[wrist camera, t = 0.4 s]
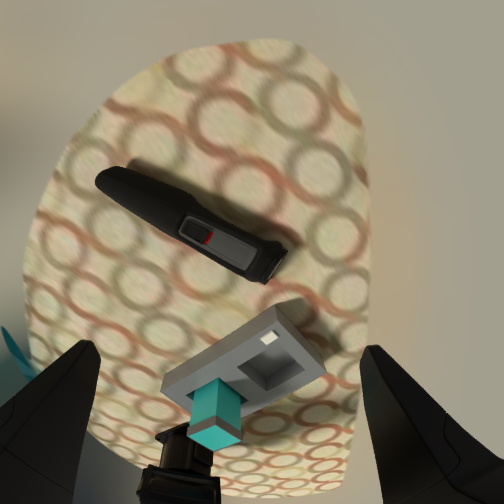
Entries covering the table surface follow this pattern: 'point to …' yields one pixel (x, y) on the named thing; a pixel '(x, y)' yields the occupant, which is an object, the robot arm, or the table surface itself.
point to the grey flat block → (250, 364)
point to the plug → (216, 416)
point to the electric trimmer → (192, 223)
